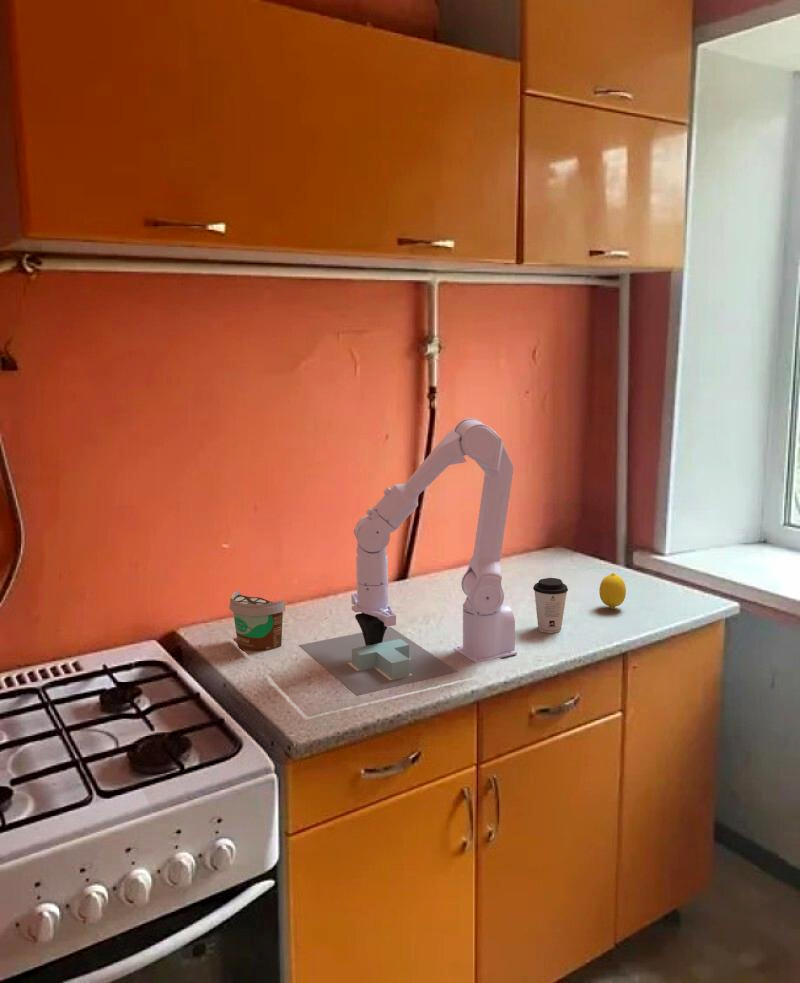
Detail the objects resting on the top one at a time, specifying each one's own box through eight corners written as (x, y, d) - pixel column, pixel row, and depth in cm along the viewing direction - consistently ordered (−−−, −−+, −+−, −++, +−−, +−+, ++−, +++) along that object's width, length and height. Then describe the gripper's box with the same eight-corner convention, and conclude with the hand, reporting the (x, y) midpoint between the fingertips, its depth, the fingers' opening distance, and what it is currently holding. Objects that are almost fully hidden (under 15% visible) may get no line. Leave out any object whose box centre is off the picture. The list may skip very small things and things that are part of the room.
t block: (400, 653, 166) (400, 638, 166) (425, 671, 158) (425, 655, 158) (352, 664, 162) (351, 648, 161) (375, 683, 154) (375, 666, 153)
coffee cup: (559, 637, 175) (560, 589, 173) (526, 631, 179) (527, 583, 177) (572, 626, 181) (573, 579, 179) (540, 620, 184) (541, 574, 182)
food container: (217, 647, 172) (215, 598, 170) (240, 637, 177) (237, 589, 175) (265, 660, 165) (263, 609, 163) (287, 650, 170) (285, 600, 168)
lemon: (600, 603, 195) (601, 568, 193) (626, 606, 193) (628, 570, 191) (597, 611, 189) (598, 575, 188) (623, 614, 188) (625, 578, 186)
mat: (390, 629, 181) (390, 626, 181) (457, 674, 158) (458, 671, 158) (298, 647, 171) (298, 645, 171) (356, 698, 149) (356, 695, 149)
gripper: (336, 574, 167) (338, 642, 169) (370, 595, 154) (371, 669, 157) (369, 568, 170) (371, 635, 173) (406, 589, 157) (406, 661, 160)
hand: (373, 651), depth 165 cm, fingers closed
